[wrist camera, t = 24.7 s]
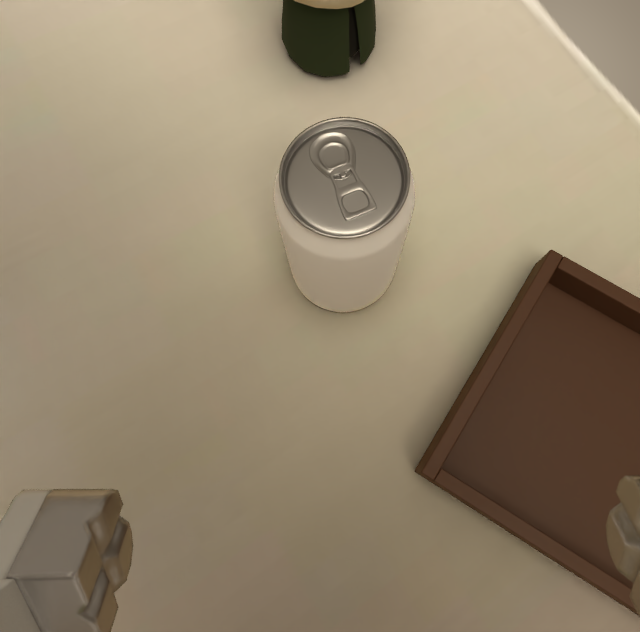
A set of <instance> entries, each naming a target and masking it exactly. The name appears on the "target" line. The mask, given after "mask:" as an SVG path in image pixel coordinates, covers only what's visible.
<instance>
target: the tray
mask: <svg viewBox="0 0 640 632" xmlns="http://www.w3.org/2000/svg"><path fill="white" fill-rule="evenodd" d="M415 472H416V473H418V474H419V475H421V476H423V477H424V478H426V479H427V480H429V481H430V482H432V483H433V484H435V485H437V486H438V487H440V488H441V489H443V490H444V491H446V492H447V493H449V494H451V495H452V496H454V497H455V498H457V499H458V500H460V501H461V502H463V503H465V504H466V505H468V506H469V507H471V508H472V509H474V510H476V511H477V512H479V513H480V514H482V515H483V516H485V517H486V518H488V519H490V520H491V521H493V522H494V523H496V524H497V525H499V526H500V527H502V528H504V529H505V530H507V531H508V532H510V533H511V534H513V535H514V536H516V537H518V538H519V539H521V540H522V541H524V542H525V543H527V544H529V545H530V546H532V547H533V548H535V549H536V550H538V551H539V552H541V553H543V554H544V555H546V556H547V557H549V558H550V559H552V560H553V561H555V562H557V563H558V564H560V565H561V566H563V567H564V568H566V569H567V570H569V571H571V572H572V573H574V574H575V575H577V576H578V577H580V578H581V579H583V580H585V581H586V582H588V583H589V584H591V585H592V586H594V587H596V588H597V589H599V590H600V591H602V592H603V593H605V594H606V595H608V596H610V597H611V598H613V599H614V600H616V601H617V602H619V603H620V604H622V605H624V606H625V607H627V608H628V609H630V610H631V611H633V612H634V613H636V614H638V613H637V611H636V609H635V607H634V605H633V603H632V601H631V599H630V597H629V596H630V593H631V589H632V586H633V582H631V581H630V580H629V579H628V578H626V577H625V576H624V575H623V574H621V573H620V572H619V571H618V570H617V569H616V566H615V564H614V562H613V560H612V558H611V555H610V552H609V548H608V544H607V537H606V523H607V519H608V515H609V511H610V510H611V509H613V508H614V507H615V506H617V505H618V504H619V503H620V502H621V501H620V499H619V497H618V495H617V493H616V490H617V487H618V484H619V481H620V480H621V479H622V478H623V477H624V476H625V475H640V298H638V297H636V296H634V295H632V294H631V293H629V292H627V291H625V290H623V289H622V288H620V287H618V286H616V285H614V284H613V283H611V282H609V281H607V280H606V279H604V278H602V277H600V276H598V275H597V274H595V273H593V272H591V271H589V270H588V269H586V268H584V267H582V266H580V265H579V264H577V263H575V262H573V261H571V260H570V259H568V258H566V257H563V256H562V255H560V254H559V253H557V252H555V251H553V250H550V251H549V252H548V253H547V254H546V255H545V256H544V257H543V258H542V259H541V260H540V261H539V262H538V263H536V264H535V266H534V268H533V269H532V271H531V273H530V274H529V276H528V278H527V280H526V281H525V283H524V285H523V286H522V288H521V290H520V292H519V293H518V295H517V297H516V298H515V300H514V302H513V303H512V305H511V307H510V309H509V310H508V312H507V314H506V315H505V317H504V319H503V321H502V322H501V324H500V326H499V327H498V329H497V331H496V332H495V334H494V336H493V338H492V339H491V341H490V343H489V344H488V346H487V348H486V350H485V351H484V353H483V355H482V356H481V358H480V360H479V361H478V363H477V365H476V367H475V368H474V370H473V372H472V373H471V375H470V377H469V379H468V380H467V382H466V384H465V385H464V387H463V389H462V390H461V392H460V394H459V396H458V397H457V399H456V401H455V402H454V404H453V406H452V408H451V409H450V411H449V413H448V414H447V416H446V418H445V419H444V421H443V423H442V425H441V426H440V428H439V430H438V431H437V433H436V435H435V437H434V438H433V440H432V442H431V443H430V445H429V447H428V448H427V450H426V452H425V454H424V455H423V457H422V459H421V460H420V462H419V464H418V466H417V467H416V469H415Z"/></svg>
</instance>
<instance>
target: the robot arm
mask: <svg viewBox="0 0 640 632" xmlns="http://www.w3.org/2000/svg"><path fill="white" fill-rule="evenodd" d="M616 493H617V495H618V497H619V499H620V501H621V502H620V503H619V504H618V505H617V506H615V507H614V508H613V509H611V510H610V511H609V515H608V519H607V523H606V537H607V544H608V548H609V552H610V555H611V558H612V560H613V562H614V564H615V566H616V569H617V570H618V571H619V572H620V573H621V574H623V575H624V576H625V577H626V578H628V579H629V580H630V581H631V582H633V586H632V589H631V593H630V596H629V597H630V599H631V601H632V603H633V605H634V607H635V609H636V611H637V613H638V615H639V618H640V475H625V476H624V477H623V478H622V479H621V480H620V481H619V484H618V487H617V490H616ZM122 506H123V502H122V500H121V497H120V494H119V491H118V490H114V489H53V490H22V491H21V492H20V493H19V494H18V495H16V496H15V497H14V499H13V500H12V502H11V504H10V506H9V508H8V509H7V511H6V513H5V515H4V517H3V518H2V520H1V522H0V632H111V629H112V626H113V623H114V620H115V616H116V613H117V610H118V604H117V601H116V599H115V596H114V592H115V591H116V590H117V589H119V588H120V587H121V586H122V585H123V584H124V583H125V582H126V580H127V577H128V573H129V570H130V566H131V561H132V551H133V539H132V531H131V528H130V524H129V522H128V521H126V520H125V519H124V518H122V517H121V516H120V512H121V509H122Z"/></svg>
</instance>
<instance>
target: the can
mask: <svg viewBox="0 0 640 632" xmlns="http://www.w3.org/2000/svg"><path fill="white" fill-rule="evenodd" d="M414 203H415V185H414V179H413V175H412V172H411V170H410V167H409V163H408V160H407V157H406V155H405V153H404V151H403V149H402V147H401V146H400V144H399V143H398V142H397V140H396V139H395V138H394V137H393V136H392V135H391V134H390V133H388V132H387V131H386V130H384V129H383V128H381V127H380V126H378V125H376V124H374V123H372V122H369V121H366V120H363V119H358V118H350V117H339V118H332V119H327V120H324V121H321V122H318V123H316V124H314V125H312V126H310V127H308V128H307V129H305V130H304V131H303V132H301V133H300V134H299V135H298V136H297V137H296V138H295V139H294V140H293V141H292V142H291V144H290V145H289V147H288V148H287V150H286V152H285V154H284V156H283V158H282V161H281V164H280V168H279V170H278V172H277V175H276V179H275V184H274V206H275V212H276V216H277V220H278V224H279V228H280V232H281V236H282V240H283V243H284V247H285V251H286V254H287V258H288V262H289V265H290V269H291V272H292V275H293V278H294V281H295V283H296V285H297V287H298V288H299V290H300V291H301V292H302V294H303V295H304V296H305V297H306V298H307V299H308V300H310V301H311V302H312V303H314V304H315V305H317V306H319V307H321V308H323V309H326V310H330V311H335V312H352V311H357V310H360V309H363V308H365V307H367V306H369V305H371V304H373V303H374V302H375V301H377V300H378V299H379V298H380V297H381V296H382V295H383V294H384V293H385V291H386V290H387V289H388V287H389V285H390V284H391V282H392V279H393V277H394V274H395V271H396V268H397V264H398V261H399V258H400V255H401V251H402V248H403V245H404V241H405V238H406V235H407V231H408V228H409V224H410V221H411V217H412V213H413V209H414Z"/></svg>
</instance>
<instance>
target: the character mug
mask: <svg viewBox="0 0 640 632" xmlns="http://www.w3.org/2000/svg"><path fill="white" fill-rule="evenodd" d="M375 32H376V20H375V2H374V0H283V13H282V40H283V42H284V45H285V47H286V49H287V52H288V54H289V56H290V57H291V58H292V59H293V60H294V61H295V62H296V63H297V64H298V65H299V66H300V67H301V68H302V69H303V70H304V71H306V72H310V73H314V74H317V75H321V76H324V77H327V76H336V75H344V74H346V73H348V72H349V57H353V56H354V55H355V54H356V52H357V51H358V50H359V49H360V64H363V63H364V62H365V61H366V60H367V58H368V56H369V55H370V53H371V51H372V50H373V48H374V45H375Z"/></svg>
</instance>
